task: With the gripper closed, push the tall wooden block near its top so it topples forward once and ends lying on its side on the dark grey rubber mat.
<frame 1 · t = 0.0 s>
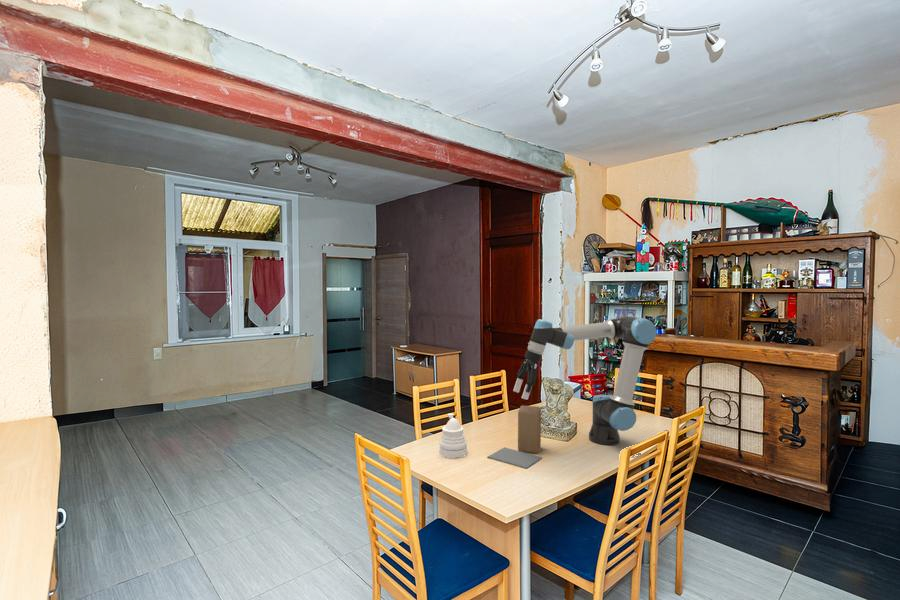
hand: (520, 395, 207), 28 cm above the table, tool tilted 20°, fingers open, 13 cm apart
honey pot: (453, 453, 210), on the table
wooden block: (529, 449, 214), on the table
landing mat: (514, 458, 203), on the table
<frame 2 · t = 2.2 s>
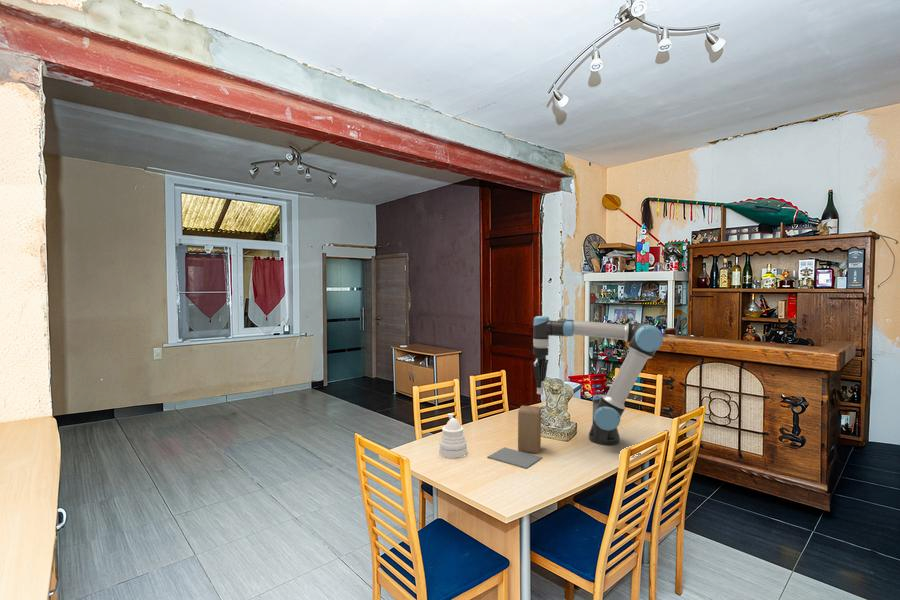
hand: (540, 393, 223), 25 cm above the table, tool pointing down, fingers closed
nothing on the table moved.
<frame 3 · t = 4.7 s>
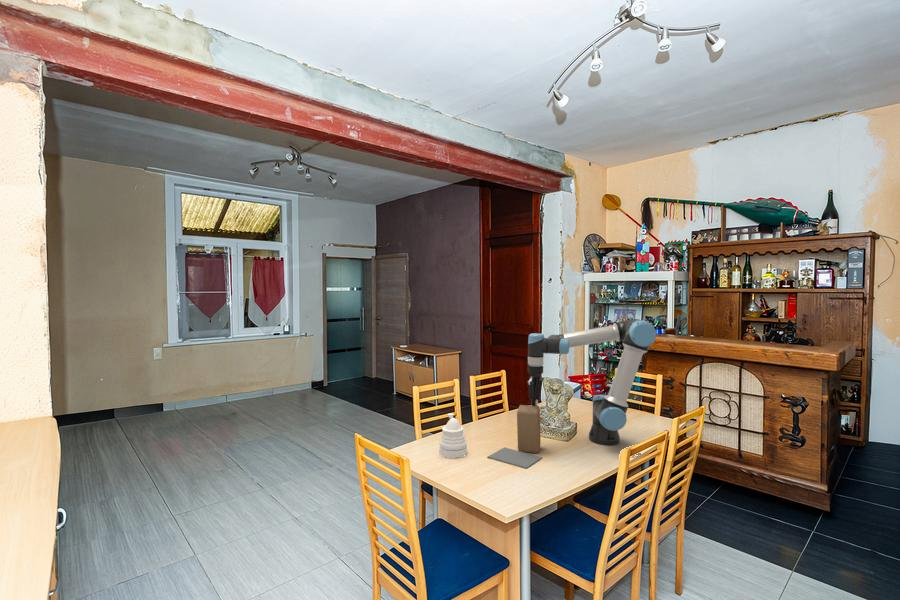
hand: (534, 412, 219), 16 cm above the table, tool pointing down, fingers closed
wooden block: (529, 449, 214), on the table, touching gripper
everything else where it was.
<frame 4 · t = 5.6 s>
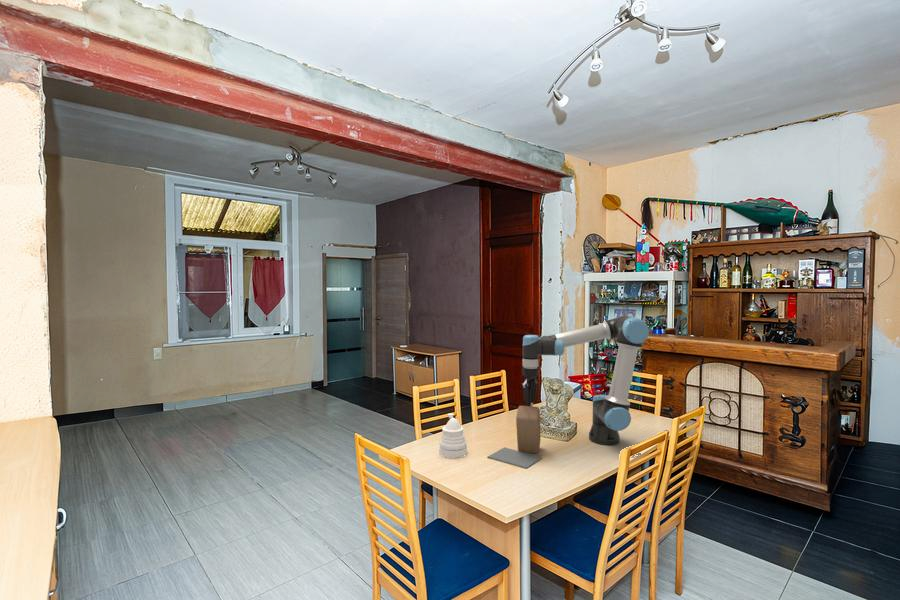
hand: (529, 415, 214), 16 cm above the table, tool pointing down, fingers closed
wooden block: (529, 446, 214), point 2 cm above the table
everything else where it was.
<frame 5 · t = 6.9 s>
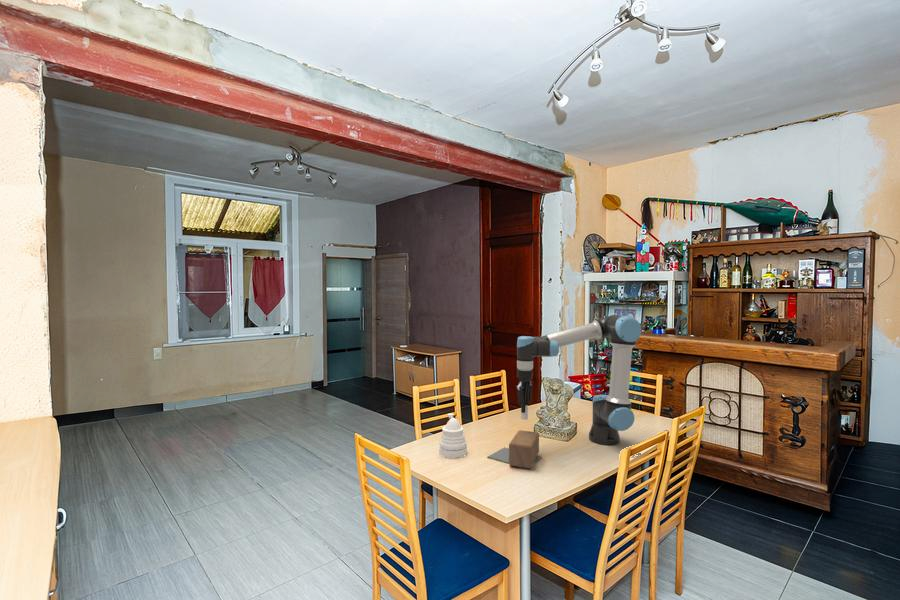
hand: (524, 418, 210), 16 cm above the table, tool pointing down, fingers closed
wooden block: (528, 440, 210), point 6 cm above the table, touching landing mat
everything else where it was.
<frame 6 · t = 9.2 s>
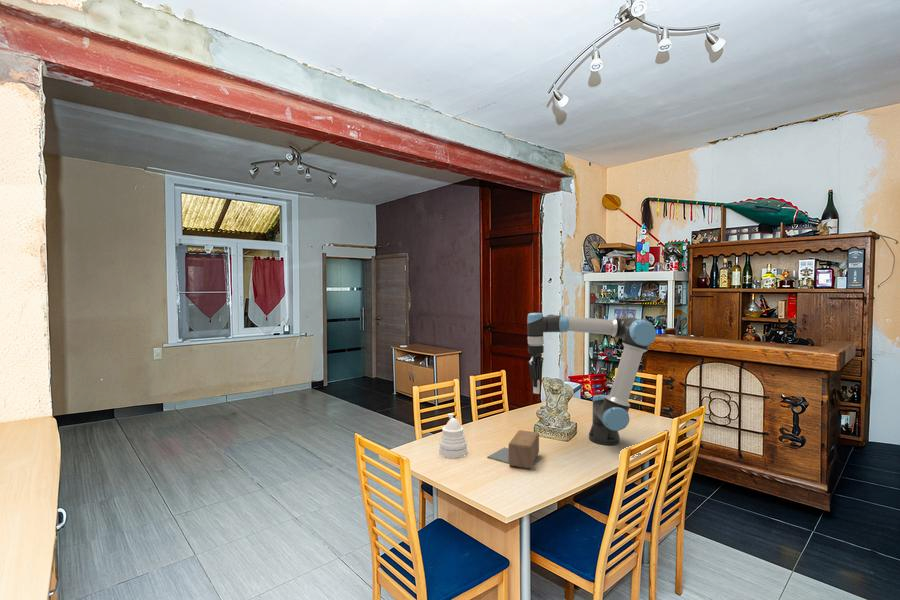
hand: (536, 393, 216), 27 cm above the table, tool pointing down, fingers closed
nothing on the table moved.
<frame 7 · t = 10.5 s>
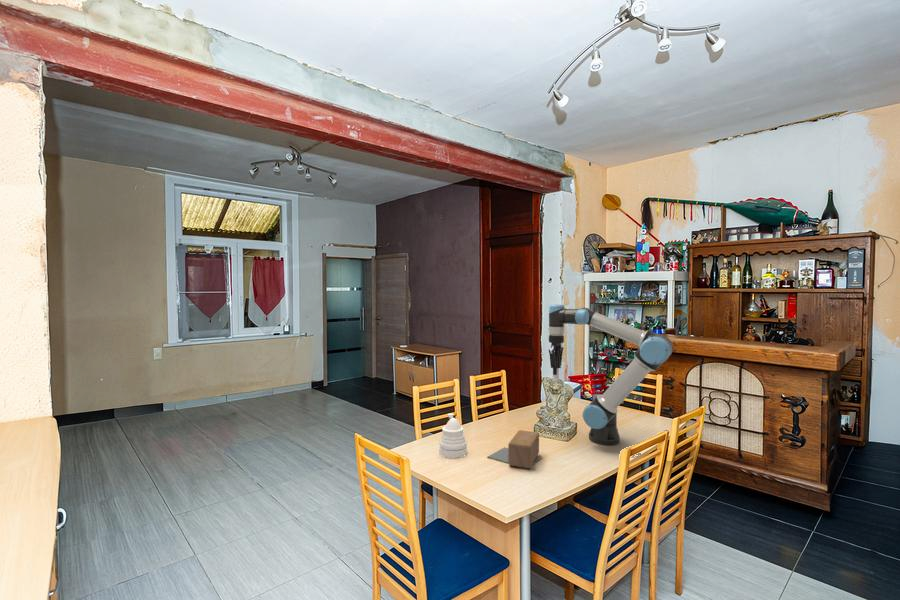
hand: (555, 380, 227), 30 cm above the table, tool pointing down, fingers closed
nothing on the table moved.
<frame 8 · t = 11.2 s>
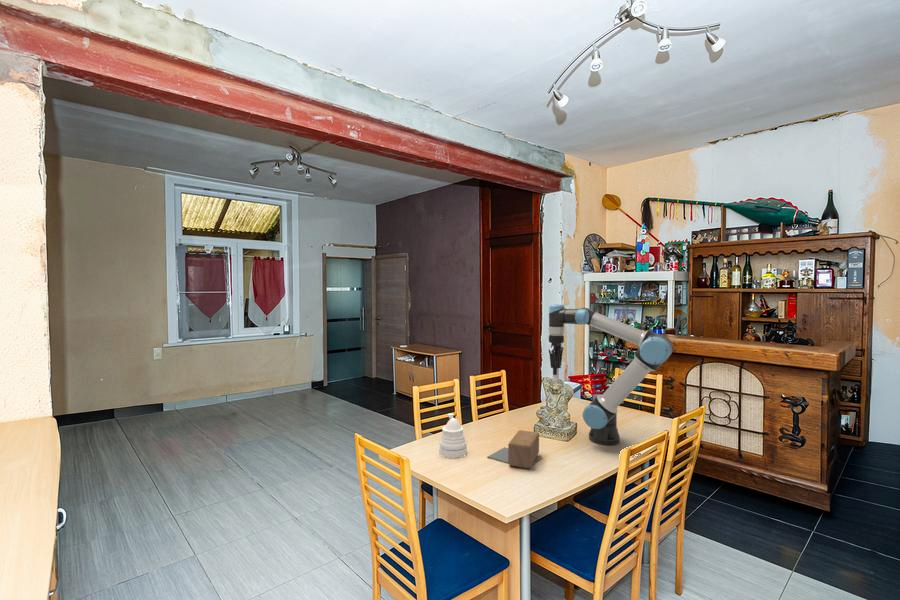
hand: (555, 380, 227), 30 cm above the table, tool pointing down, fingers closed
nothing on the table moved.
at the end: wooden block tilted 90°; wooden block touching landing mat; wooden block inside the target area (9.6 cm from its centre), point 5.6 cm above the table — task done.
